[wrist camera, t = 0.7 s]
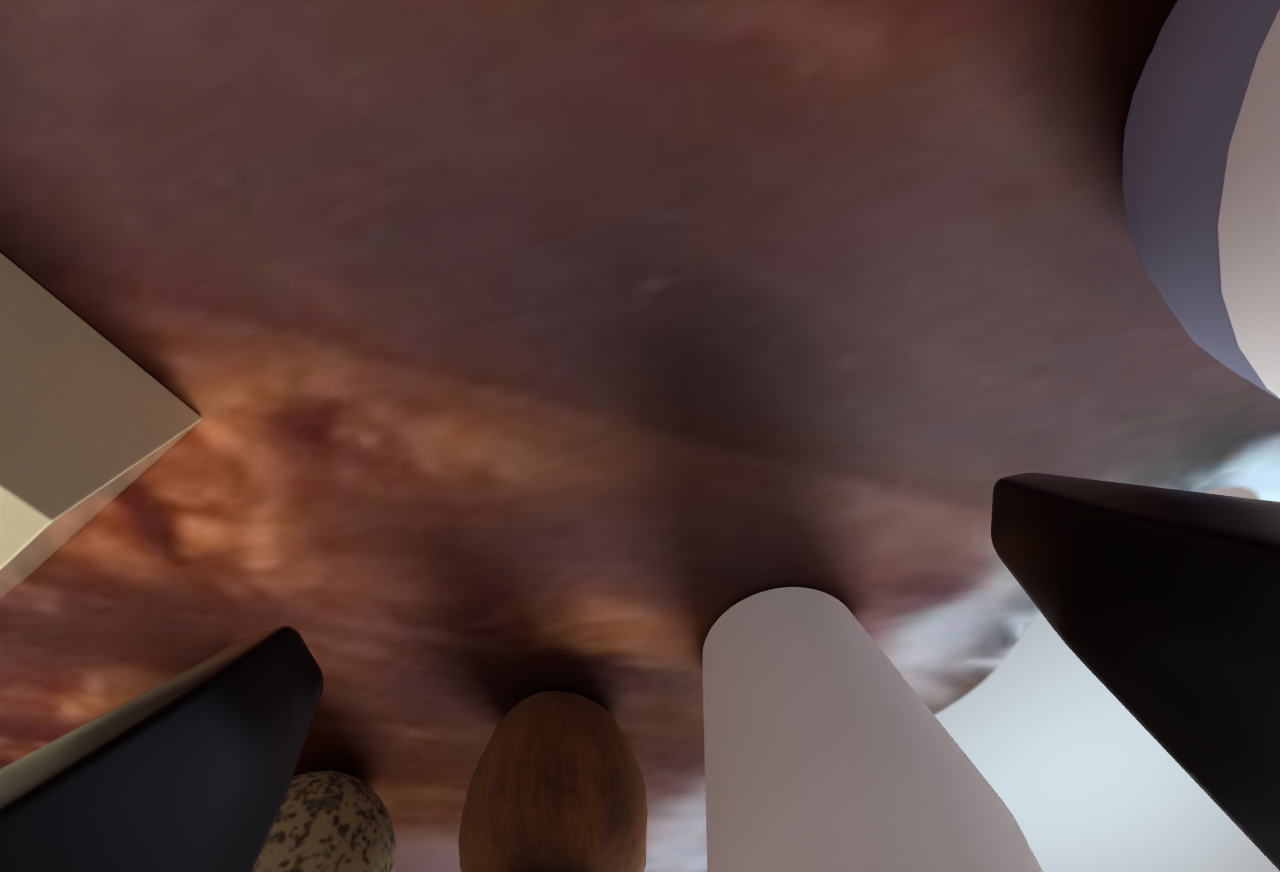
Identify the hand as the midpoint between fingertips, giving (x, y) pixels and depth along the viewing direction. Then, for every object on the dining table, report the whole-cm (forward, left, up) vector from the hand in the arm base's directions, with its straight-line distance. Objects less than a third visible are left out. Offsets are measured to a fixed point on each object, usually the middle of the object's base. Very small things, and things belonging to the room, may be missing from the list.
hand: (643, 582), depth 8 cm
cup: (+12, +10, -13) cm, 20 cm away
